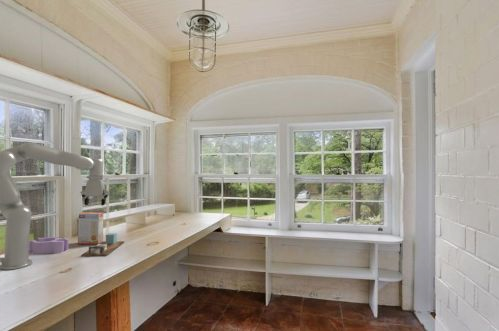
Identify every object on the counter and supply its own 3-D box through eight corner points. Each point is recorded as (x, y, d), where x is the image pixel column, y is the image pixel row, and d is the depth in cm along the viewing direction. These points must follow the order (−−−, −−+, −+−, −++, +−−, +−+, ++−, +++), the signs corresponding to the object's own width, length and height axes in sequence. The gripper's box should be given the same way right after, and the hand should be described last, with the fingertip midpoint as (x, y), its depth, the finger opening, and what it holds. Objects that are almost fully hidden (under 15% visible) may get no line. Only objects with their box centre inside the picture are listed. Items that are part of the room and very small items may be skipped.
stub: (105, 243, 175) (106, 234, 175) (108, 241, 180) (109, 232, 180) (113, 243, 175) (113, 234, 176) (116, 241, 180) (116, 232, 181)
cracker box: (103, 242, 182) (104, 212, 182) (97, 245, 176) (98, 213, 176) (83, 241, 182) (84, 211, 182) (77, 244, 176) (78, 213, 176)
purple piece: (72, 248, 168) (73, 237, 168) (58, 254, 155) (58, 243, 155) (41, 247, 168) (42, 236, 168) (25, 253, 155) (25, 242, 156)
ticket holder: (81, 256, 153) (81, 247, 153) (102, 242, 181) (103, 235, 181) (106, 256, 155) (106, 247, 155) (124, 242, 183) (124, 235, 183)
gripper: (78, 178, 161) (77, 205, 161) (107, 178, 163) (106, 206, 163) (84, 177, 169) (83, 204, 168) (112, 178, 171) (111, 204, 170)
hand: (94, 205), depth 166 cm, fingers open, 9 cm apart
